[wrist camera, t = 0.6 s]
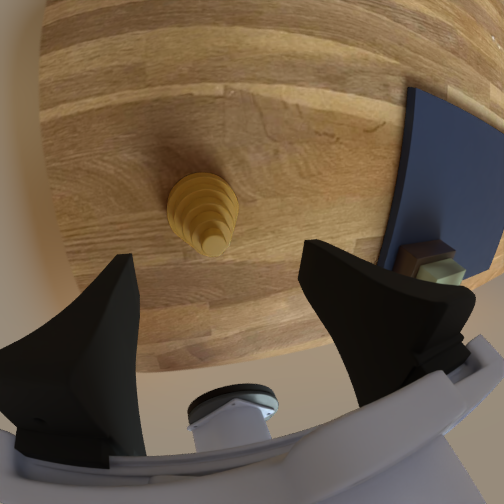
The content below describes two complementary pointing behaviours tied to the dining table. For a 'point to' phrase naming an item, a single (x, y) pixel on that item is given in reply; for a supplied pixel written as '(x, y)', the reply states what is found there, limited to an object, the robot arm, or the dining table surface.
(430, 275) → the block stack
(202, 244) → the cone
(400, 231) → the board
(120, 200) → the dining table surface
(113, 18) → the dining table surface
